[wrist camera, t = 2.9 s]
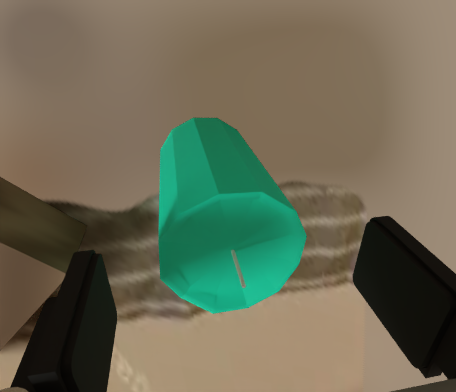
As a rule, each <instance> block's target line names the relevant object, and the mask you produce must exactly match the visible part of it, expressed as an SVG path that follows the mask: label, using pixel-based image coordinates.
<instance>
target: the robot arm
mask: <svg viewBox="0 0 456 392" xmlns="http://www.w3.org/2000/svg"><path fill="white" fill-rule="evenodd" d="M353 282H354V285H355V286H356V288H357V289H358V291H359V292H360V293H361V295H362V296H363V297H364V299H365V300H366V302H367V303H368V304H369V306H370V307H371V309H372V310H373V311H374V313H375V314H376V316H377V317H378V318H379V320H380V321H381V322H382V324H383V325H384V327H385V328H386V329H387V331H388V332H389V334H390V335H391V336H392V338H393V339H394V341H395V342H396V343H397V345H398V346H399V348H400V349H401V350H402V352H403V353H404V354H405V356H406V357H407V359H408V360H409V361H410V363H411V364H412V365H413V366H414V367H415V368H418V369H419V370H420V371H421V373H422V374H423V375H424V377H425V378H429V377H434V376H439V375H441V373H442V372H443V373H444V375H445V376H446V377H447V380H445V381H440V382H436V383H430V384H426V385H421V386H416V387H411V388H406V389H401V390H396V391H391V392H456V274H455V273H454V272H453V271H452V270H451V269H450V268H448V267H447V266H446V265H445V264H444V263H443V262H442V261H440V260H439V259H438V258H437V257H436V256H435V255H433V254H432V253H431V252H430V251H429V250H428V249H427V248H426V247H424V246H423V245H422V244H421V243H420V242H419V241H418V240H416V239H415V238H414V237H413V236H412V235H411V234H410V233H408V232H407V231H406V230H405V229H404V228H403V227H402V226H400V225H399V224H398V223H397V222H396V221H395V220H394V219H392V218H391V217H389V216H382V217H374V218H372V219H371V220H370V222H368V223H367V224H366V227H365V231H364V234H363V238H362V242H361V246H360V250H359V254H358V257H357V261H356V265H355V269H354V273H353ZM116 324H117V311H116V307H115V303H114V299H113V296H112V292H111V288H110V284H109V281H108V277H107V273H106V269H105V266H104V262H103V258H102V255H101V254H96V253H95V251H94V250H88V251H80V252H74V254H73V256H72V258H71V261H70V264H69V266H68V269H67V272H66V274H65V277H64V280H63V282H62V285H61V288H60V290H59V293H58V296H57V297H52V298H48V299H47V300H46V302H45V304H44V306H43V308H42V311H41V313H40V316H39V318H38V321H37V323H36V326H35V328H34V331H33V333H32V335H31V338H30V340H29V343H28V345H27V348H26V350H25V353H24V355H23V357H22V360H21V362H20V365H19V367H18V370H17V372H16V375H15V377H14V380H13V382H12V384H11V387H10V388H6V389H3V390H0V392H107V386H108V379H109V372H110V365H111V358H112V351H113V345H114V338H115V331H116Z"/></svg>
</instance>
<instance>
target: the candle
mask: <svg viewBox="0 0 456 392" xmlns="http://www.w3.org/2000/svg"><path fill="white" fill-rule="evenodd" d="M306 237H307V236H306V233H305V231H304V229H303V226H302V224H301V222H300V219H299V217H298V215H297V212H296V211H295V209H294V208H293V206H292V205H291V204H290V202H289V201H288V200H287V198H286V197H285V195H284V194H283V193H282V191H281V190H280V188H279V187H278V186H277V184H276V183H275V182H274V180H273V179H272V177H271V176H270V175H269V173H268V172H267V171H266V169H265V168H264V167H263V165H262V164H261V162H260V161H259V160H258V158H257V157H256V156H255V154H254V153H253V151H252V150H251V149H250V147H249V146H248V145H247V143H246V142H245V140H244V139H243V138H242V136H241V135H240V133H239V132H238V131H237V130H236V129H234V128H233V127H231V126H229V125H228V124H226V123H225V122H223V121H221V120H220V119H218V118H192V119H190V120H188V121H186V122H185V123H183V124H181V125H179V126H178V127H176V128H174V129H172V131H171V132H170V134H169V136H168V137H167V140H166V141H165V143H164V145H163V146H162V148H161V150H160V194H159V262H160V279H161V280H162V281H163V282H164V283H165V284H166V285H167V286H168V287H169V288H171V289H172V290H173V291H174V292H175V293H176V294H177V295H178V296H179V297H180V298H182V299H184V300H186V301H188V302H190V303H192V304H194V305H196V306H199V307H201V308H203V309H205V310H207V311H209V312H211V313H213V314H214V313H220V312H226V311H232V310H239V309H245V308H249V307H250V306H252V305H254V304H256V303H258V302H260V301H262V300H264V299H266V298H267V297H269V296H271V295H273V294H275V293H277V292H279V290H280V289H281V288H282V286H283V285H284V284H285V282H286V281H287V280H288V278H289V277H290V276H291V274H292V273H293V272H294V270H295V269H296V268H297V266H298V265H299V263H300V259H301V255H302V252H303V248H304V245H305V241H306Z"/></svg>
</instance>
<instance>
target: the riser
mask: <svg viewBox="0 0 456 392" xmlns="http://www.w3.org/2000/svg"><path fill="white" fill-rule="evenodd" d="M86 228H87V226H86V225H84V224H82V223H81V222H79V221H77V220H75V219H73V218H72V217H70V216H68V215H66V214H65V213H63V212H61V211H59V210H58V209H56V208H54V207H52V206H50V205H49V204H47V203H45V202H43V201H42V200H40V199H38V198H36V197H35V196H33V195H31V194H29V193H28V192H26V191H24V190H22V189H20V188H19V187H17V186H15V185H13V184H12V183H10V182H8V181H6V180H5V179H3V178H1V177H0V350H1V349H2V348H3V347H4V346H5V345H6V343H7V342H8V341H9V340H10V339H11V338H12V337H13V336H14V335H15V334H16V332H17V331H18V330H19V329H20V328H21V327H22V326H23V325H24V324H25V323H26V321H27V320H28V319H29V318H30V317H31V316H32V315H33V314H34V313H35V311H36V310H37V309H38V308H39V307H40V306H41V305H42V304H43V303H44V302H45V300H46V299H47V298H48V297H49V296H50V295H51V294H52V293H53V292H54V291H55V289H56V288H57V287H58V286H59V285H60V284H61V283H62V282H63V280H64V277H65V274H66V272H67V269H68V266H69V264H70V261H71V258H72V256H73V254H74V252H78V249H79V246H80V244H81V241H82V238H83V236H84V233H85V230H86Z"/></svg>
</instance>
